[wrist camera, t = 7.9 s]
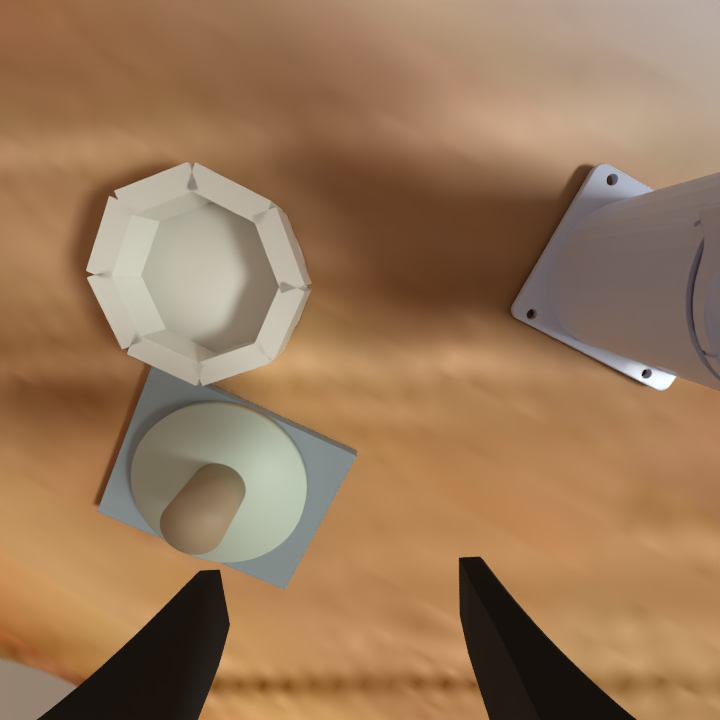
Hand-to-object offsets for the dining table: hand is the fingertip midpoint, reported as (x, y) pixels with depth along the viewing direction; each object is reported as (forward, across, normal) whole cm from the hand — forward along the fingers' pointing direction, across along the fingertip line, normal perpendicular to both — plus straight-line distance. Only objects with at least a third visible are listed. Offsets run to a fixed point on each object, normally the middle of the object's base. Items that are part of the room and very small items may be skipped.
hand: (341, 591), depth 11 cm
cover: (+10, +8, +2) cm, 12 cm away
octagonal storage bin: (+10, +6, -9) cm, 15 cm away
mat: (+10, +8, +2) cm, 13 cm away
